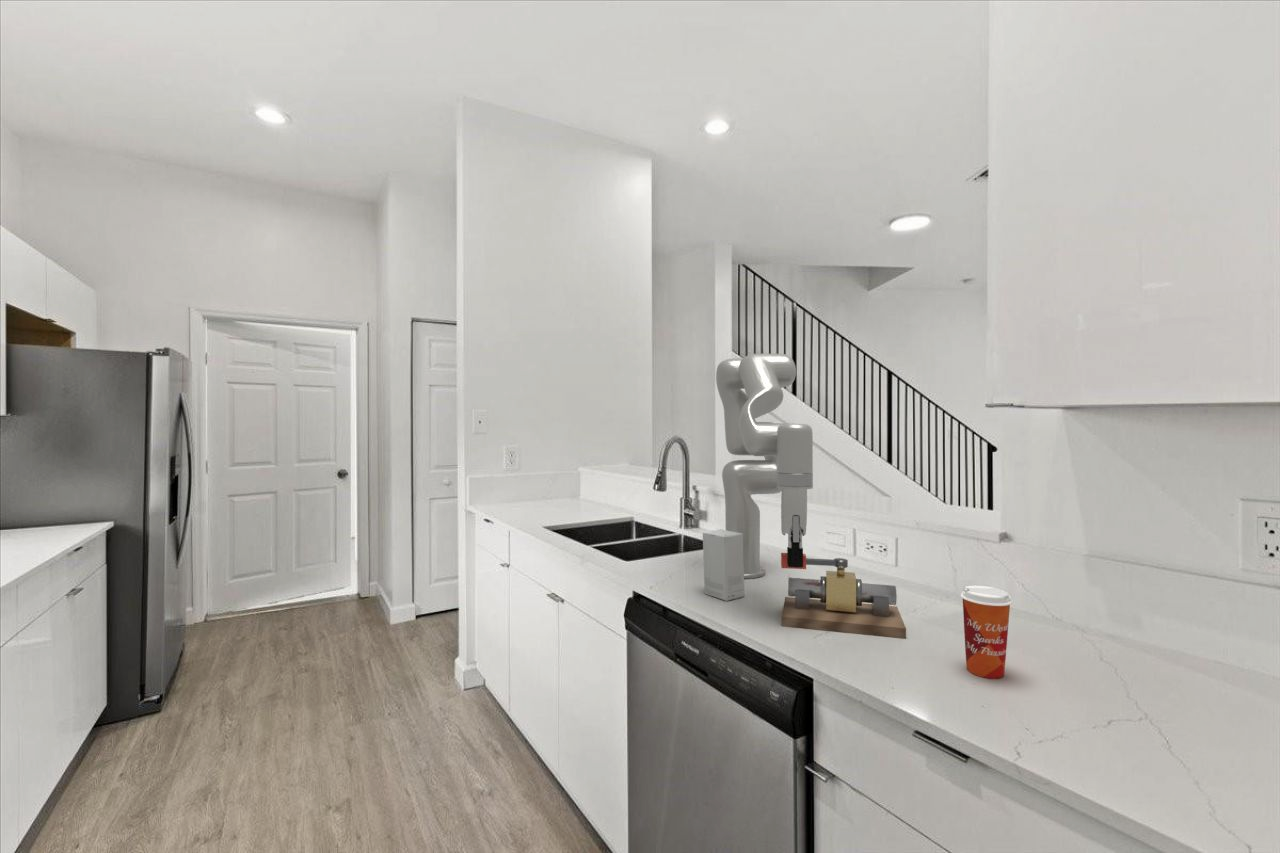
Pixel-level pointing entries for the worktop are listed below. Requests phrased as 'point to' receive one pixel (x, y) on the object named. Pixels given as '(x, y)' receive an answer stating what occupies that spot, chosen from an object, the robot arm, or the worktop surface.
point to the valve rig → (843, 605)
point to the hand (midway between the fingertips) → (795, 566)
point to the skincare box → (723, 564)
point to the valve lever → (815, 562)
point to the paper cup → (986, 630)
